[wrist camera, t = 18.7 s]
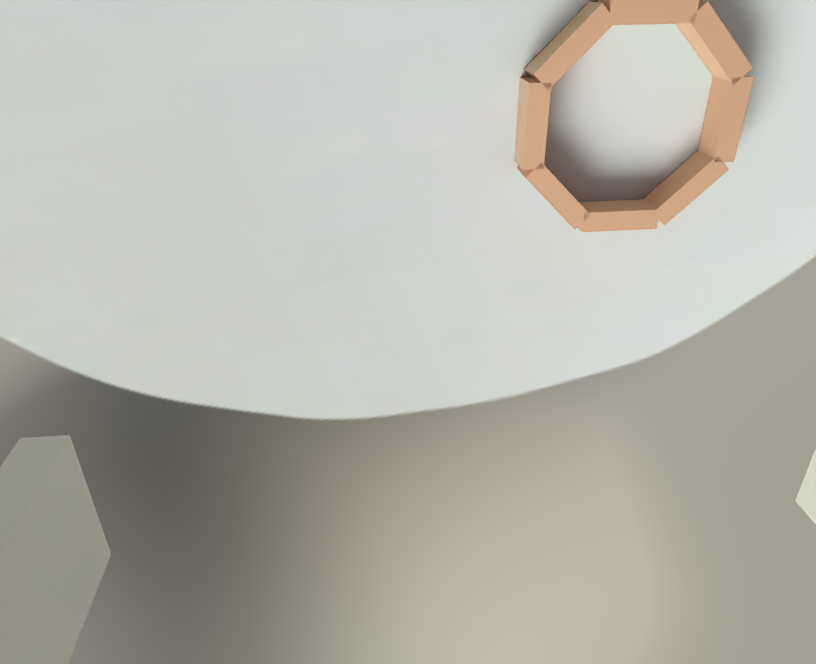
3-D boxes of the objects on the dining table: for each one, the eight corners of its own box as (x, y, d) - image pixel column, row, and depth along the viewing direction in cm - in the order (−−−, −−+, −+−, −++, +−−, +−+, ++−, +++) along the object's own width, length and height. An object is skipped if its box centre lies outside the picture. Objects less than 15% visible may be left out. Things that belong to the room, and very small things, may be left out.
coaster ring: (525, -2, 34) (535, 0, 32) (751, -6, 34) (773, -5, 33) (510, 223, 40) (517, 234, 38) (702, 215, 41) (718, 225, 39)
